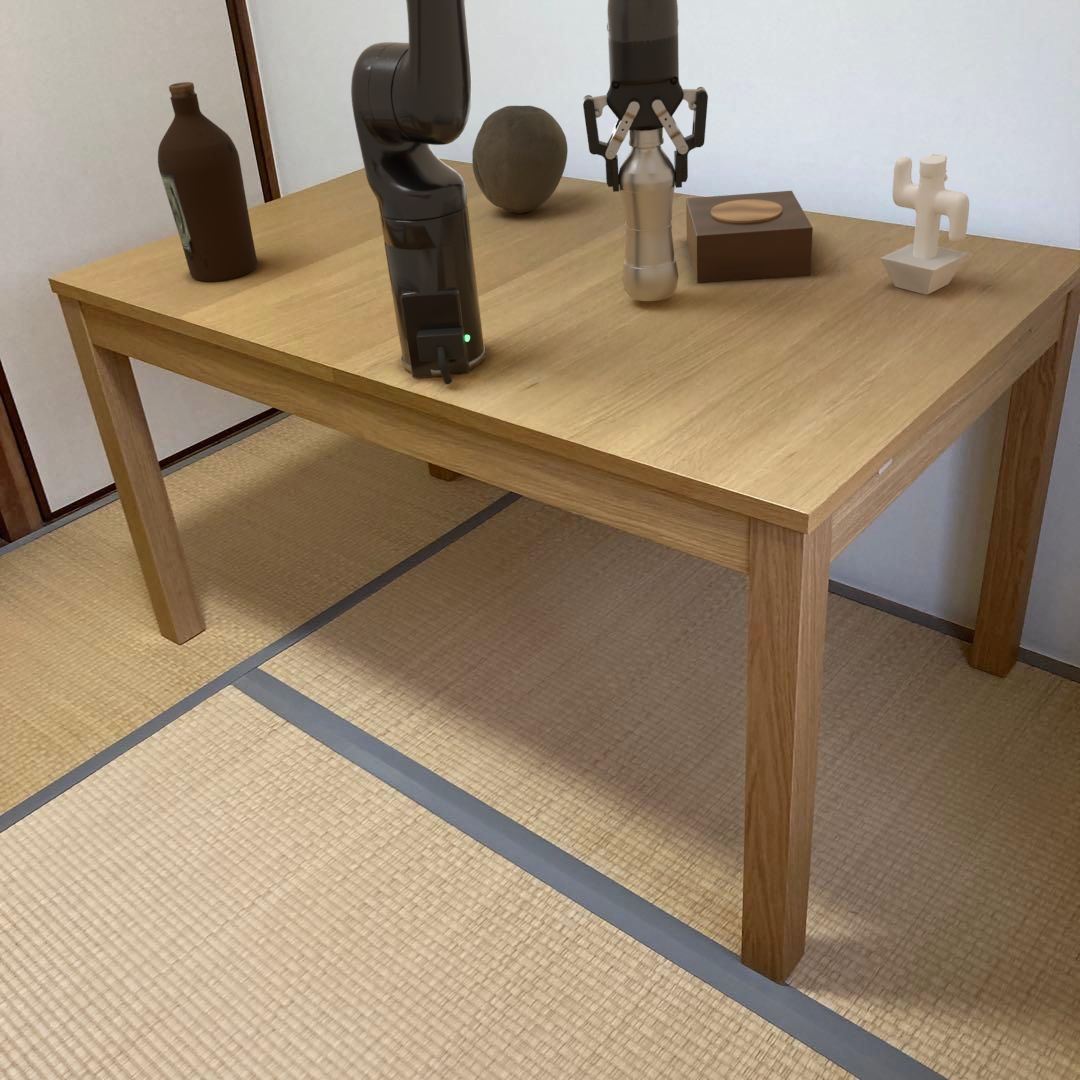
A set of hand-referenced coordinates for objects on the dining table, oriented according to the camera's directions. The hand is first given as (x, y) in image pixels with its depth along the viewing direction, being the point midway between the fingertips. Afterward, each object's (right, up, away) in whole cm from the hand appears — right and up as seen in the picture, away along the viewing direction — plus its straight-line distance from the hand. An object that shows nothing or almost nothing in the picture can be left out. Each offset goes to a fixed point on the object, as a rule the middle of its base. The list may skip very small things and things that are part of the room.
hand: (647, 187), depth 133 cm
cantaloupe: (-15, +10, +44) cm, 47 cm away
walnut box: (+14, -4, +18) cm, 23 cm away
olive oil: (-57, -3, +31) cm, 65 cm away
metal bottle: (+1, -11, +7) cm, 14 cm away
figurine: (+33, -10, +5) cm, 35 cm away
